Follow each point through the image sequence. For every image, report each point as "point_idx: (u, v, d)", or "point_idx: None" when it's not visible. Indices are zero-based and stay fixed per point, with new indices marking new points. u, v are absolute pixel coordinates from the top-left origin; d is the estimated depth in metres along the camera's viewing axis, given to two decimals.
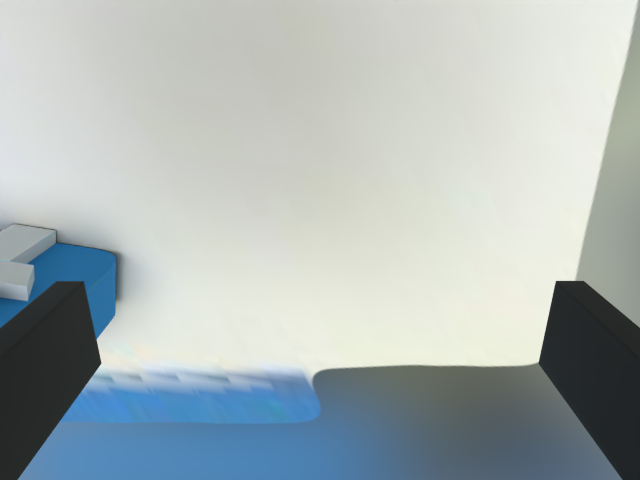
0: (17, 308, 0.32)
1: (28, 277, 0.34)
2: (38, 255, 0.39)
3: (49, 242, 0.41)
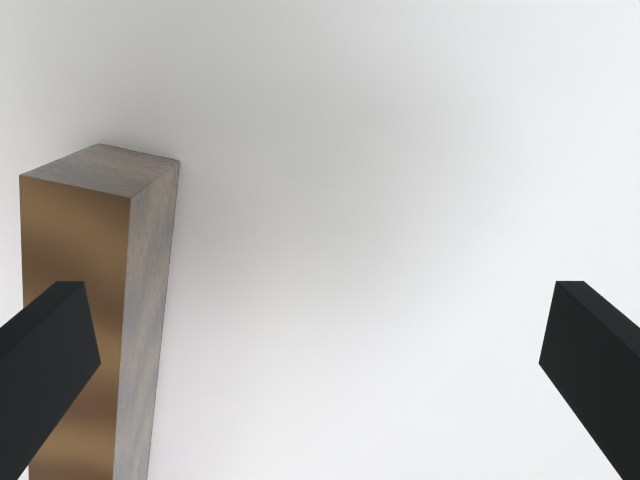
0: None
1: None
2: None
3: None
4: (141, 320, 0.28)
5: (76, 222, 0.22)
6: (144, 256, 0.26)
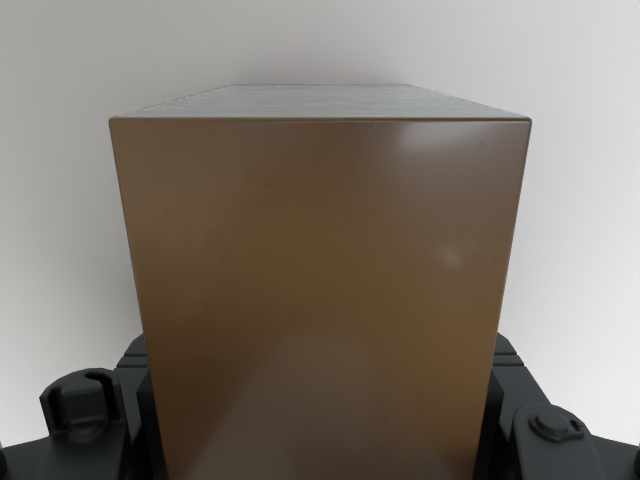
0: None
1: None
2: None
3: None
4: None
5: (327, 256, 0.06)
6: None
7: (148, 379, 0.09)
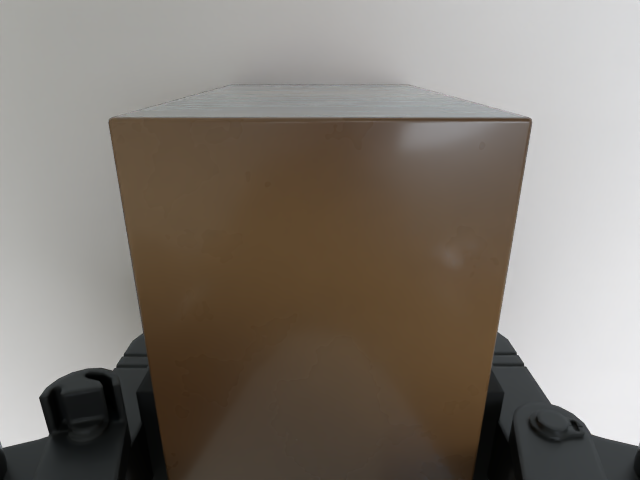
0: None
1: None
2: None
3: None
4: None
5: (327, 256, 0.06)
6: None
7: (148, 379, 0.09)
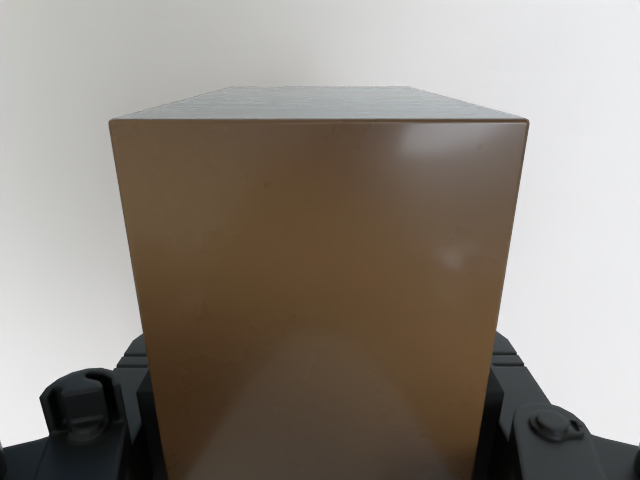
0: None
1: None
2: None
3: None
4: None
5: (326, 256, 0.06)
6: None
7: (148, 379, 0.09)
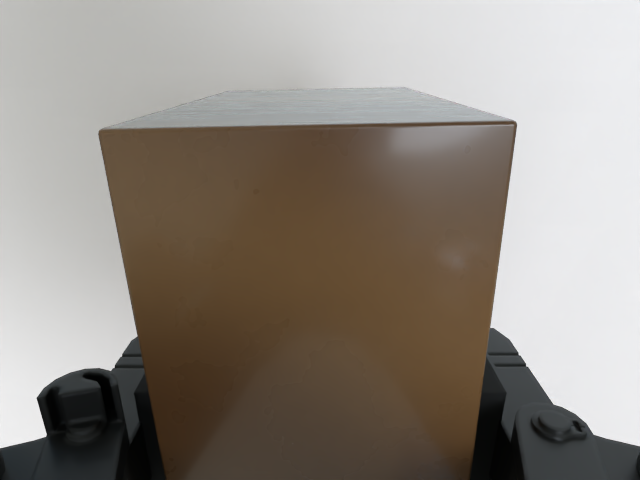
0: None
1: None
2: None
3: None
4: None
5: (317, 261, 0.06)
6: None
7: None
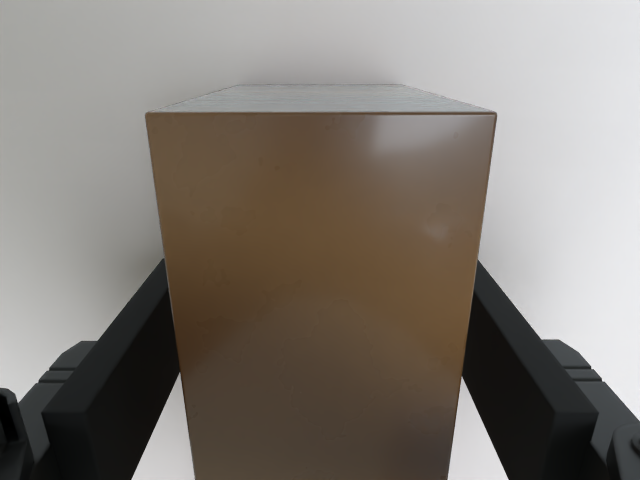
0: None
1: None
2: None
3: None
4: None
5: (327, 229, 0.07)
6: None
7: (58, 398, 0.08)
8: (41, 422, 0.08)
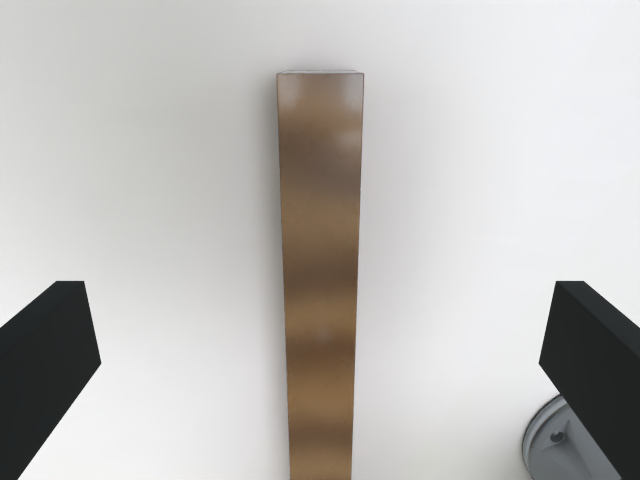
0: None
1: None
2: None
3: None
4: None
5: (321, 105, 0.28)
6: None
7: None
8: None
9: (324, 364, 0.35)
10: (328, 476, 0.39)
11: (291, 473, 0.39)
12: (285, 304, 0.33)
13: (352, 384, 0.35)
